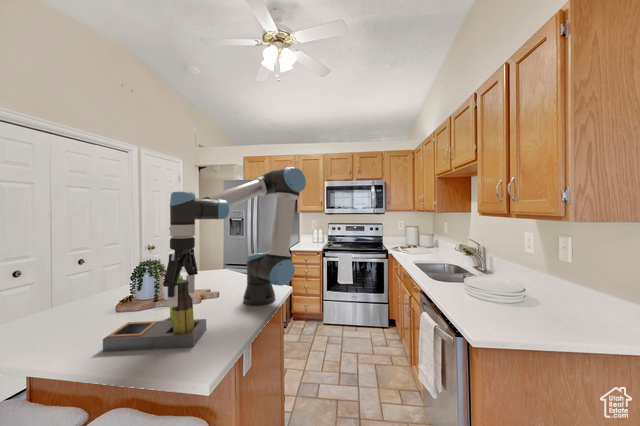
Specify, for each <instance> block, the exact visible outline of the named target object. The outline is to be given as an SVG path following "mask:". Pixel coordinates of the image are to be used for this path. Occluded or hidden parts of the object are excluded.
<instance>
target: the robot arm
mask: <svg viewBox="0 0 640 426" xmlns="http://www.w3.org/2000/svg"><path fill="white" fill-rule="evenodd" d="M306 185H307V180H306V177H305V174H304V172H303V171H302V170H301V168H298V167H295V166H287V167H285V168H280V169H279V168H278V169H274V170H271V171H268V172H267V173H264V174H261V175H259V176H257V177H255V178H254V179H253V180H252V181H248V182H245V183H243V184H240V185H237V186H234V187H231V188H228V189H225V190H222V191H218V192H216V193H213V194H210V195H208V196H205V197H201V198H198V197H196V193H195V192H190V191H172V193H170V198H169V199H170V200H169V213H170V214H169V216H170V217H169V220H170V221H169V228H168V229H169V236H170V237H171V238H170V239H169V249H170V250H173V251H174V253H169V255H168V263H167V268H166V272H165V276H164V280H163V283H162V285H163V287H164V288H165V287H166V288H167V299H166V300H167V304H166V305H167V308H170V307H177V306H178V285H176V284H177V281H178V278H179V275H181V271H182V270H181V269H183V268H184V270H185V271H186V274H187V275H185V280H188V283H189V284H188V291H189V292H188V293H189V294H195V292H196V291H195V287H196V286H195V285H196V283H195V280H196V279H195V278H196V277H195V276H196V275H198V274H199V272H198V266H197V262H196V261H197V260H196V256H195V249H194V248H195V246H196V238H195V237H194V236H196V220H225V219H227V218H228V217H229V213H230V208H231V207H234V206H236V205H238V204H241V203H243V202H246V201H248V200H251V199H254V198H256V197H257V198H258V197H259V196H260V197H264V196H268V195H273V194H274V196H275V197H276V203H275V210H274V218H273V226H272V231H271V239H270V247H269V250H268V251H266V252H265V251H263V252H256V253H251V254H248V255H247V257H246V287H245V291H244V294H243V296H242V298H243V299H242V300H243V304H246V305H249V306H264V305H268V304H271V303H273V302H274V301H276V293H275V290H274V288H273V286H281V287H282V286H285V285H286V286H287V285H288V284H289V282H291V281H292V279H293V277H294V276H295V271H296V267H295V265H294V263H293V261H292V254H291V253H290V252H289V250H290V245H291V236H292V229H293V222H294V221H293V220H294V213H295V207H296V206H295V205H296V200H298V199H300V193H301V192H302V191H303V190H305V188H306Z"/></svg>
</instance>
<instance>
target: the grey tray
mask: <svg viewBox="0 0 640 426" xmlns="http://www.w3.org/2000/svg"><path fill="white" fill-rule="evenodd" d="M206 331H207V319H206V318H198V319H194V329H193V330H192V331H191V332H182V333H173V320H172V319H171V320H154V321H131V322H126V323H124V324H123V325H122V326H120V327H119V328H117V329H116V330H114V331H112V332H111V333H110V334H108V335H106V337H104V338H103V339H102V352H103V353H105V352H106V353H108V352H126V351H145V350H146V351H147V350H148V351H149V350H163V349H164V350H165V349H166V350H167V349H168V350H169V349H182V348H183V349H184V348H185V349H186V348H194V347H195V346H196V345H197V343H198V341H200V340H201V338H202V336H203V335H204V334H205V333H206Z"/></svg>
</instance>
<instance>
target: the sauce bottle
mask: <svg viewBox="0 0 640 426" xmlns="http://www.w3.org/2000/svg"><path fill="white" fill-rule="evenodd" d="M188 284H189V283H188V280H186V279H183V280H179V281H177V284H176V285H178V306H177V307H173V308H172V310H173V333H182V332H191V331H192V330H193V329H194V320H195V319H194V305H193V304H194V302H193V297H191V295H190V293H188V292H189V291H188Z"/></svg>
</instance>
